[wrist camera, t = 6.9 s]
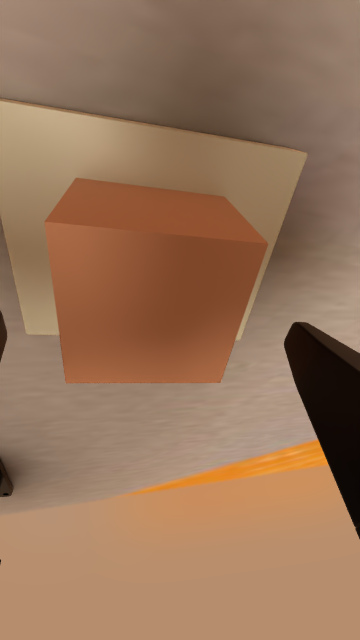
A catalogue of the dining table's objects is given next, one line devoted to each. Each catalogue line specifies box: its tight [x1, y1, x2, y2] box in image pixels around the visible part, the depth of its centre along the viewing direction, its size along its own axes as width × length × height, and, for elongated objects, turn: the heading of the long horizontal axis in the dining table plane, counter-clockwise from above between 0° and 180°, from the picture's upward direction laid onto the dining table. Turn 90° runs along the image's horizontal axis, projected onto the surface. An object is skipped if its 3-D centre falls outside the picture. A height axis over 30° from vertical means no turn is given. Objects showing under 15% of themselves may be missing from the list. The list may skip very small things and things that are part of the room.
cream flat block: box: [0, 98, 308, 340], centre depth 13 cm, size 10×12×3 cm
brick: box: [44, 178, 268, 383], centre depth 11 cm, size 6×6×5 cm
